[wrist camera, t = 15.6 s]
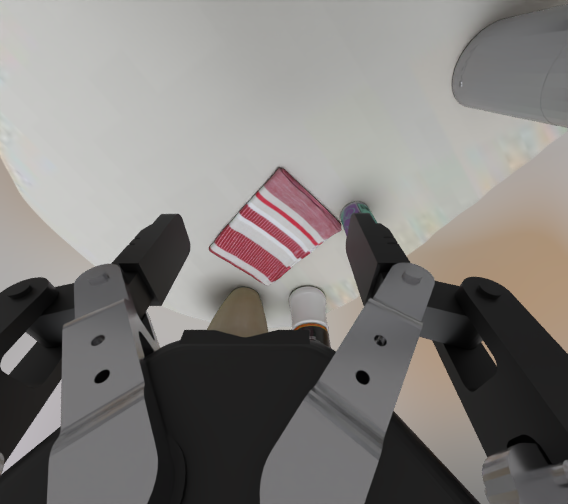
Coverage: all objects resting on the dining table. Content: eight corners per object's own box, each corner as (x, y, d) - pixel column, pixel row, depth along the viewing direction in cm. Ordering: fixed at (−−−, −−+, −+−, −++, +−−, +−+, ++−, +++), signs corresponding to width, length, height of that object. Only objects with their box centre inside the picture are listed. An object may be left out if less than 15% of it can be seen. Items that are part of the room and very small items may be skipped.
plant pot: (203, 289, 58) (180, 349, 46) (252, 268, 53) (242, 328, 41) (239, 320, 66) (228, 379, 54) (284, 304, 61) (283, 364, 49)
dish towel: (342, 222, 46) (345, 229, 44) (267, 282, 57) (266, 290, 55) (280, 163, 39) (280, 169, 37) (208, 244, 50) (204, 252, 48)
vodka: (302, 312, 63) (312, 455, 40) (281, 295, 59) (278, 444, 36) (331, 299, 60) (361, 447, 36) (311, 279, 55) (330, 433, 32)
